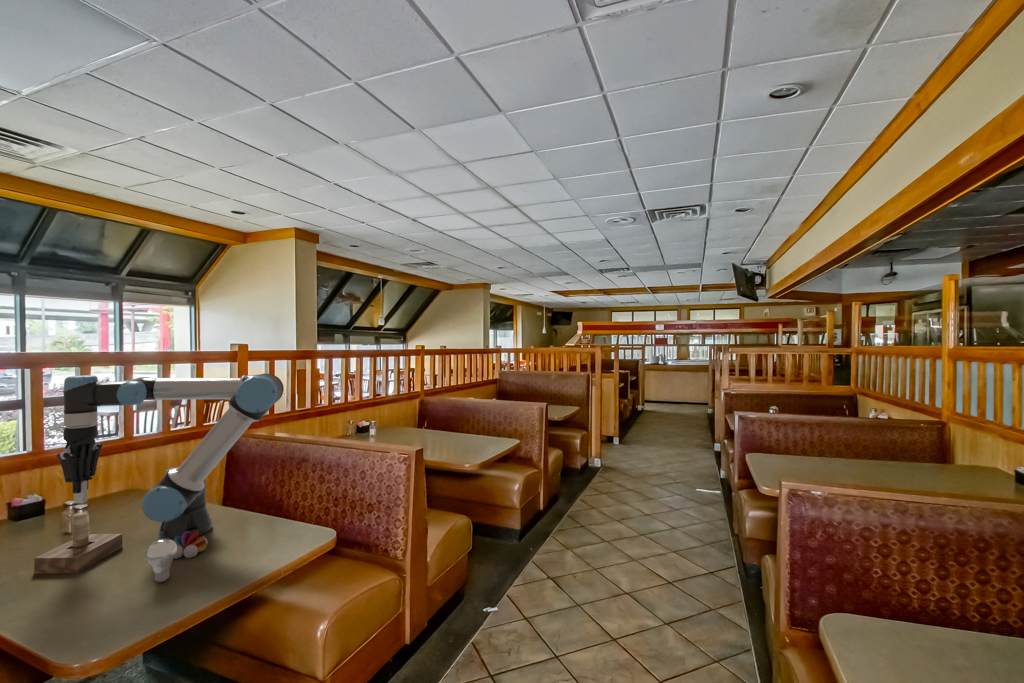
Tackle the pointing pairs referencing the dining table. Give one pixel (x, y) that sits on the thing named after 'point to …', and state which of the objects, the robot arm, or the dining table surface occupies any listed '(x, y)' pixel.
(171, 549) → the light bulb
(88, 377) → the robot arm
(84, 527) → the dowel
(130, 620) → the dining table surface
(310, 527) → the dining table surface
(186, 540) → the rainbow fan toy
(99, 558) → the board
